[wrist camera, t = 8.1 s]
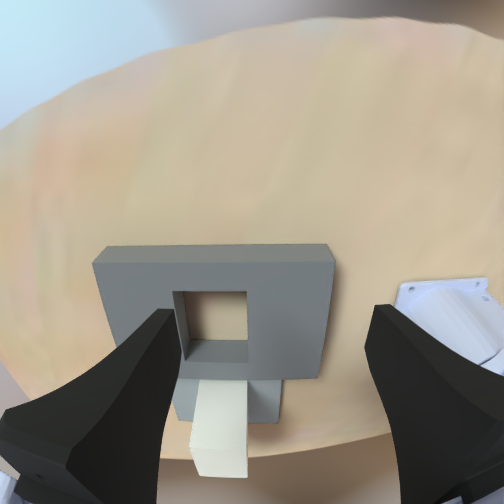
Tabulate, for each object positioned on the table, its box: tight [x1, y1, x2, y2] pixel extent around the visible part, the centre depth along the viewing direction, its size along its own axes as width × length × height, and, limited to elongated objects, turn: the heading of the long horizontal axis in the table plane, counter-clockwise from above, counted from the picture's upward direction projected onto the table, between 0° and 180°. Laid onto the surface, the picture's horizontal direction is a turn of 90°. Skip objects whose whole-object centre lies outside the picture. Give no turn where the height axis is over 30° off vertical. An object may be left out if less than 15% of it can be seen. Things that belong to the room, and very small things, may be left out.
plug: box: [189, 380, 248, 478], centre depth 23 cm, size 4×6×7 cm
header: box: [92, 244, 335, 380], centre depth 21 cm, size 15×10×2 cm, turn 91°
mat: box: [172, 378, 282, 423], centre depth 26 cm, size 10×8×1 cm
